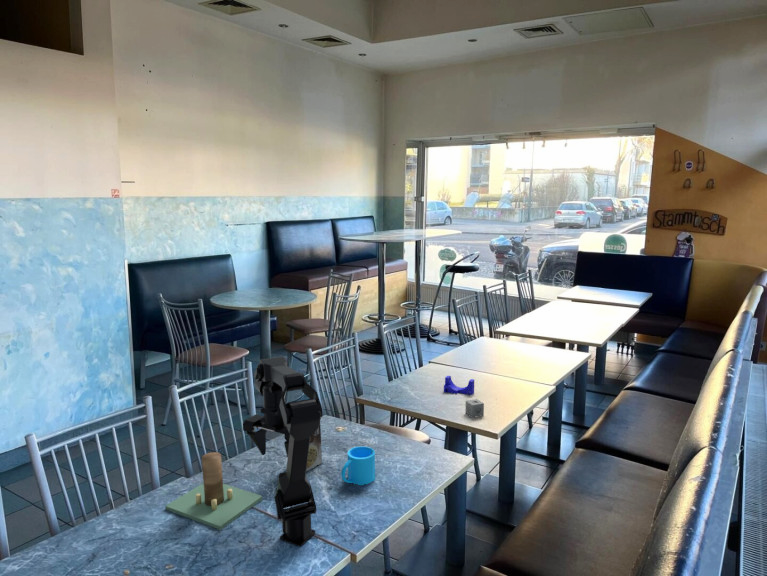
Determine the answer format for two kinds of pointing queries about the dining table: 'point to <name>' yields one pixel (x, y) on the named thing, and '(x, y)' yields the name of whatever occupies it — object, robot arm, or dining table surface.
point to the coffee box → (314, 450)
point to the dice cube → (474, 408)
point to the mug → (360, 466)
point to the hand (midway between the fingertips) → (277, 458)
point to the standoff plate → (214, 506)
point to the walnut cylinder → (212, 478)
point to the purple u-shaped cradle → (453, 388)
